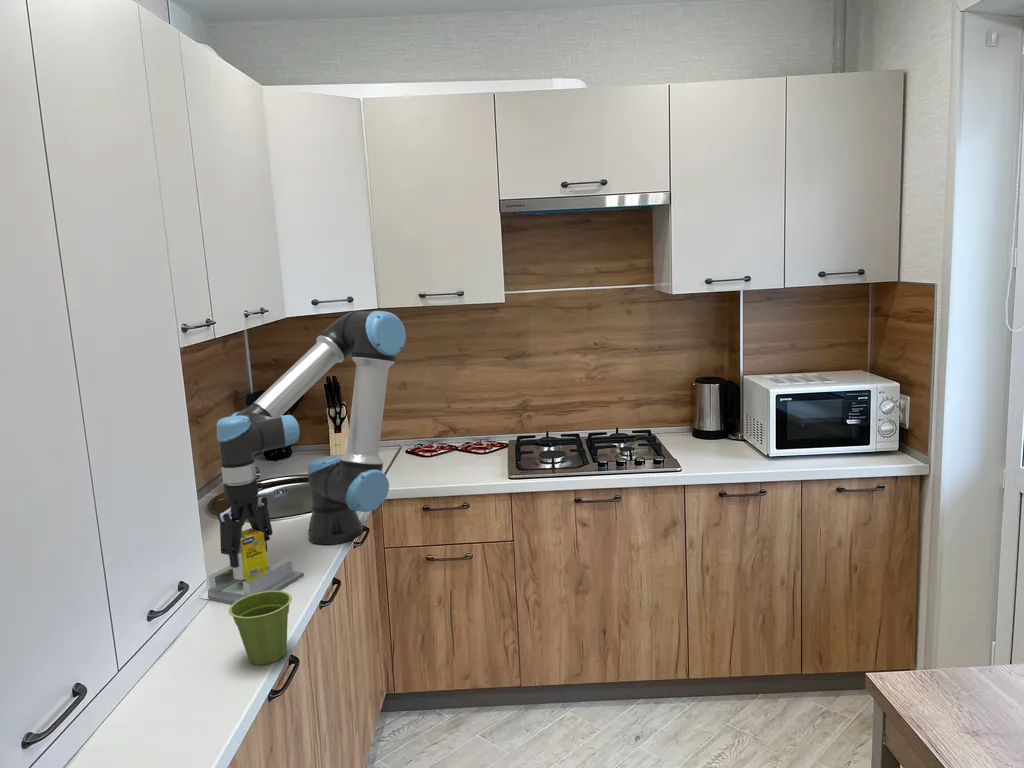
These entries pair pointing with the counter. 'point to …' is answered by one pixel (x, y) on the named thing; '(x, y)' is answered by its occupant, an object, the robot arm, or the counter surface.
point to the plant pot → (263, 624)
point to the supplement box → (252, 552)
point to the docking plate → (250, 582)
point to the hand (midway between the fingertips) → (251, 572)
